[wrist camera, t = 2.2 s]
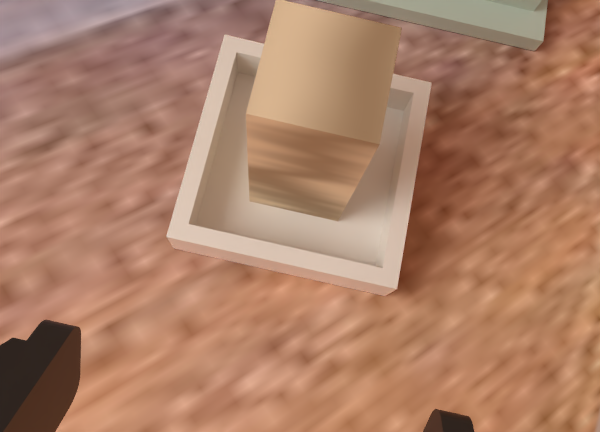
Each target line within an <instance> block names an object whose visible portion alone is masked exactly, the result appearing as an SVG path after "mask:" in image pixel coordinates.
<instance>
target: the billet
mask: <svg viewBox="0 0 600 432" xmlns="http://www.w3.org/2000/svg"><path fill="white" fill-rule="evenodd" d="M401 30H402V28H400V27H396V26H392V25H387V24H383V23H379V22H374V21H370V20H366V19H362V18H357V17H353V16H349V15H344V14H340V13H336V12H331V11H327V10H323V9H319V8H314V7H310V6H306V5H301V4H297V3H293V2H289V1H284V0H276V2H275V5H274V9H273V13H272V17H271V21H270V24H269V28H268V32H267V36H266V39H265V43H264V47H263V51H262V55H261V58H260V62H259V66H258V70H257V73H256V77H255V81H254V85H253V88H252V92H251V96H250V100H249V104H248V107H247V111H246V129H247V154H248V178H249V201H250V202H255V203H259V204H264V205H268V206H272V207H277V208H281V209H286V210H290V211H294V212H299V213H303V214H307V215H312V216H316V217H321V218H325V219H329V220H334V221H338V220H339V218H340V217H341V215H342V213H343V211H344V209H345V207H346V205H347V204H348V202H349V200H350V198H351V196H352V194H353V193H354V191H355V189H356V187H357V185H358V183H359V182H360V180H361V178H362V176H363V174H364V172H365V170H366V169H367V167H368V165H369V163H370V161H371V159H372V158H373V156H374V154H375V152H376V150H377V148H378V146H379V145H380V140H381V135H382V129H383V124H384V119H385V114H386V108H387V103H388V98H389V93H390V87H391V82H392V77H393V72H394V66H395V61H396V56H397V51H398V45H399V40H400V35H401Z"/></svg>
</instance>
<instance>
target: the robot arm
mask: <svg viewBox="0 0 600 432" xmlns="http://www.w3.org/2000/svg"><path fill="white" fill-rule="evenodd" d="M80 358H81V330H80V328H79V327H76V326H72V325H67V324H63V323H58V322H54V321H50V320H44V321H42V322H41V323H40V324H39V325H38V327H37V328H36V329H35V330H34V332H33V333H32V334H31V336H30V337H29V338H28V340H27V341H25V340H21V339H16V338H12V339H10V340H8V341H7V342H5V343H3V344H2V345H0V432H55V431H56V429H57V428H58V426H59V424H60V423H61V421H62V419H63V417H64V416H65V414H66V412H67V411H68V409H69V407H70V405H71V404H72V402H73V399H74V397H75V395H76V392H77V389H78V385H79V380H80ZM423 432H474V428H473V424H472V421H471V419H470V417H469V416H465V415H460V414H456V413H451V412H447V411H443V410H438V409H435V410H434V411H433V412H432V414H431V416H430V418H429V420H428V422H427V424H426V427H425V429H424V431H423Z"/></svg>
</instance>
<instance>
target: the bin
mask: <svg viewBox="0 0 600 432" xmlns="http://www.w3.org/2000/svg"><path fill="white" fill-rule="evenodd" d="M263 47H264V44H263V43H259V42H254V41H250V40H246V39H242V38H237V37H233V36H229V35H224V39H223V42H222V45H221V49H220V52H219V56H218V59H217V63H216V66H215V70H214V73H213V77H212V80H211V84H210V87H209V91H208V94H207V97H206V101H205V104H204V108H203V111H202V115H201V118H200V122H199V125H198V129H197V132H196V136H195V139H194V143H193V146H192V149H191V153H190V156H189V160H188V163H187V167H186V170H185V174H184V177H183V181H182V184H181V188H180V191H179V195H178V198H177V201H176V205H175V208H174V212H173V215H172V219H171V222H170V226H169V229H168V233H167V236H166V237H167V239H168V240H169V242H170V243H171V245H172V246H173V248H174V249H179V250H183V251H187V252H192V253H196V254H201V255H205V256H210V257H214V258H218V259H223V260H227V261H232V262H236V263H240V264H245V265H249V266H254V267H258V268H263V269H267V270H271V271H276V272H280V273H285V274H289V275H293V276H298V277H302V278H307V279H311V280H316V281H320V282H324V283H329V284H333V285H338V286H342V287H346V288H351V289H355V290H360V291H364V292H369V293H373V294H377V295H382V296H386V295H388V294H390V293H391V292H393V291H395V290H396V289H397V286H398V280H399V274H400V268H401V262H402V257H403V251H404V245H405V239H406V233H407V227H408V221H409V215H410V209H411V203H412V197H413V191H414V185H415V179H416V173H417V167H418V161H419V155H420V150H421V144H422V138H423V132H424V126H425V120H426V114H427V108H428V102H429V96H430V90H431V84H432V83H431V82H427V81H423V80H418V79H414V78H410V77H405V76H401V75H397V74H393V77H392V82H391V87H390V93H389V98H388V103H387V108H386V114H385V119H384V124H383V129H382V135H381V140H380V145H379V146H378V148H377V150H376V152H375V154H374V156H373V158H372V159H371V161H370V163H369V165H368V167H367V169H366V170H365V172H364V174H363V176H362V178H361V180H360V182H359V183H358V185H357V187H356V189H355V191H354V193H353V194H352V196H351V198H350V200H349V202H348V204H347V205H346V207H345V209H344V211H343V213H342V215H341V217H340V218H339V220H338V221H334V220H329V219H325V218H321V217H316V216H312V215H307V214H303V213H299V212H294V211H290V210H286V209H281V208H277V207H272V206H268V205H264V204H259V203H255V202H250V201H249V178H248V154H247V129H246V111H247V107H248V104H249V100H250V96H251V92H252V88H253V85H254V81H255V77H256V73H257V70H258V66H259V62H260V58H261V55H262V51H263Z"/></svg>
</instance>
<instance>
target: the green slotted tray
mask: <svg viewBox="0 0 600 432" xmlns="http://www.w3.org/2000/svg"><path fill="white" fill-rule="evenodd" d="M318 1H322V2H326V3H330V4H335V5H339V6H343V7H348V8H352V9H356V10H360V11H365V12H369V13H373V14H378V15H382V16H386V17H390V18H395V19H399V20H403V21H408V22H412V23H416V24H420V25H425V26H429V27H433V28H438V29H442V30H446V31H450V32H455V33H459V34H463V35H468V36H472V37H476V38H480V39H485V40H489V41H493V42H498V43H502V44H506V45H510V46H515V47H519V48H523V49H528V50H532V51H535V50H536V49H537V48H538V47H539V46H540V45H541V44H542V42H543V40H544V31H545V22H546V13H547V4H548V0H318Z"/></svg>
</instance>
